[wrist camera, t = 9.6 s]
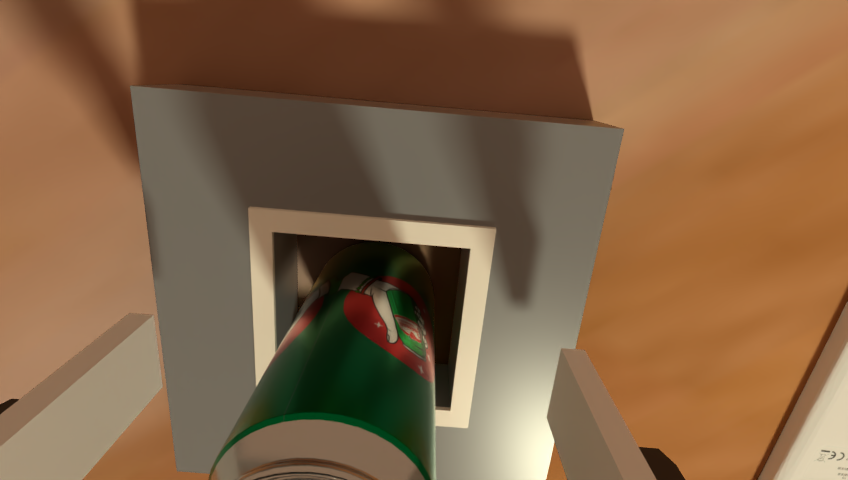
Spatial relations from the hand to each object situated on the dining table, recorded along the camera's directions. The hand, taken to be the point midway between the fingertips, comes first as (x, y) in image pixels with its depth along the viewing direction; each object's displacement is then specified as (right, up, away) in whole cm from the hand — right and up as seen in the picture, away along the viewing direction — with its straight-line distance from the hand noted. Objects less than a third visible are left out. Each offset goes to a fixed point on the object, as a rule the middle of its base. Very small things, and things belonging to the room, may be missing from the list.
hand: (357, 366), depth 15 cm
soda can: (0, +2, +6) cm, 6 cm away
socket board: (0, +2, +5) cm, 6 cm away
